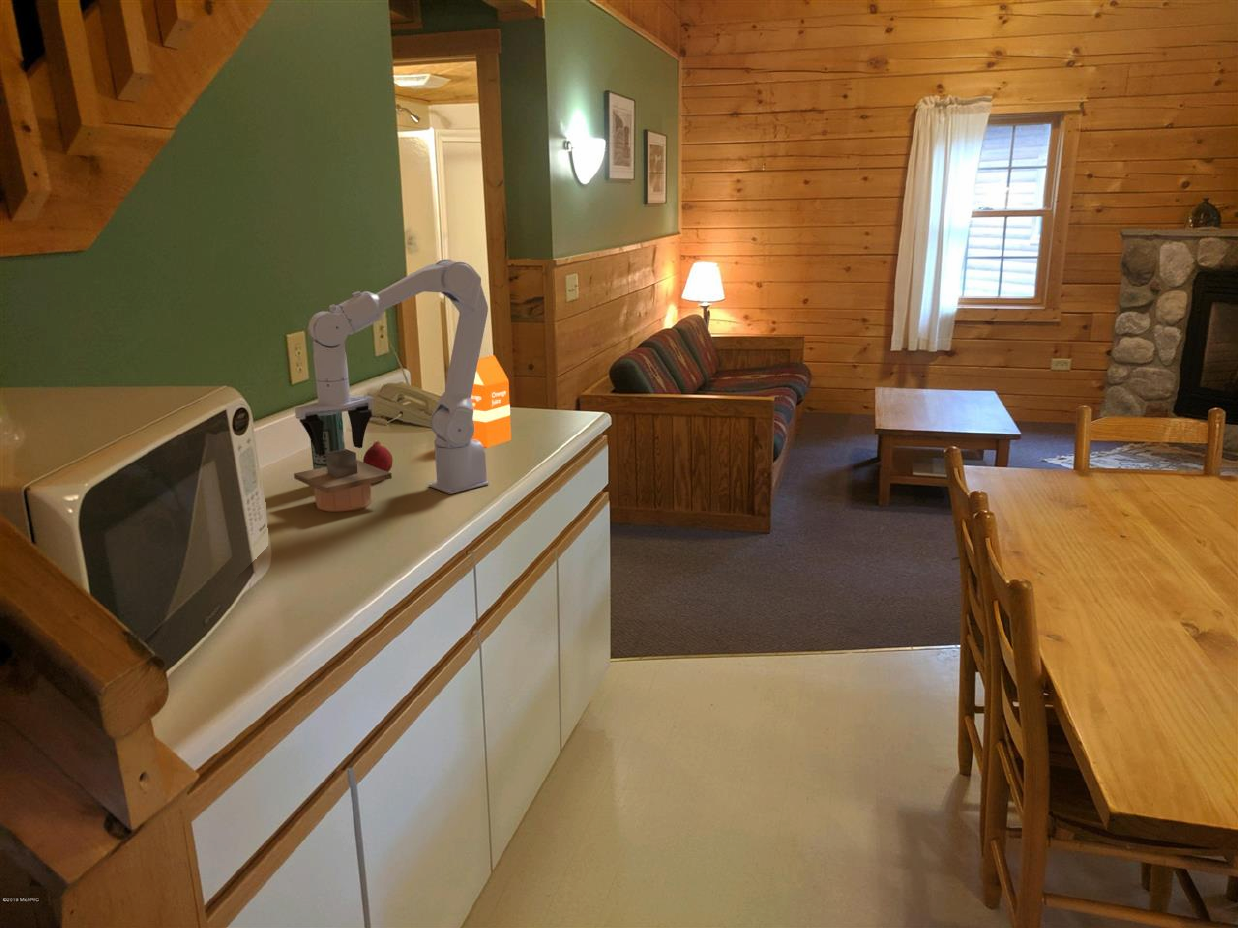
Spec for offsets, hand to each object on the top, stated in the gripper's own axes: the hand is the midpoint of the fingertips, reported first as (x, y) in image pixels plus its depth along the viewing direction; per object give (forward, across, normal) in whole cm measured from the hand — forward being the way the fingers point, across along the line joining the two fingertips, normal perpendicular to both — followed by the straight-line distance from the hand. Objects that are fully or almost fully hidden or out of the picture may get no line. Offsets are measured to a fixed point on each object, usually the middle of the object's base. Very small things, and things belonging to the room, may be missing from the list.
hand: (339, 450), depth 172 cm
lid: (+5, 0, 0) cm, 5 cm away
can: (+10, -4, -13) cm, 17 cm away
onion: (+10, -13, -10) cm, 19 cm away
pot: (+10, 0, 0) cm, 10 cm away
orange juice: (+11, -47, -20) cm, 52 cm away
